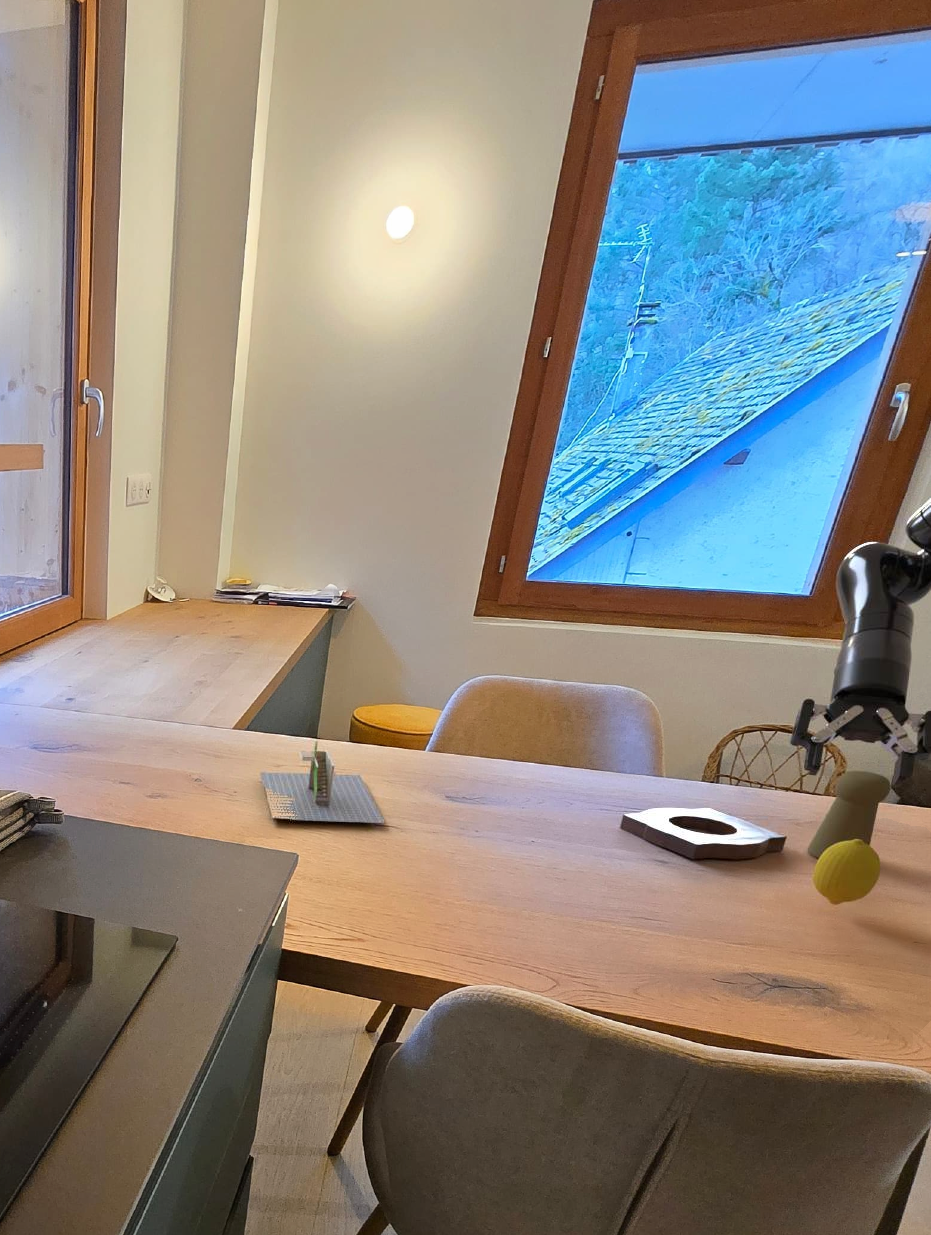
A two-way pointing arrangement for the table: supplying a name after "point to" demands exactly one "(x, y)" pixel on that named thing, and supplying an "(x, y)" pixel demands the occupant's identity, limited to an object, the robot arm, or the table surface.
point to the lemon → (846, 871)
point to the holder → (728, 843)
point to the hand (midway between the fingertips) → (855, 777)
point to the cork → (851, 810)
